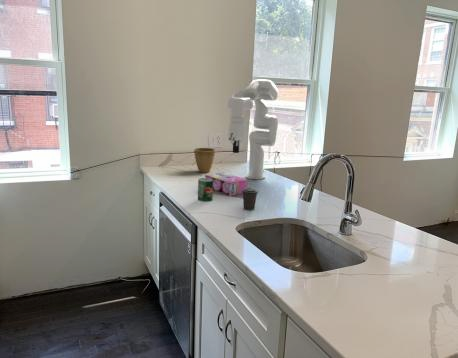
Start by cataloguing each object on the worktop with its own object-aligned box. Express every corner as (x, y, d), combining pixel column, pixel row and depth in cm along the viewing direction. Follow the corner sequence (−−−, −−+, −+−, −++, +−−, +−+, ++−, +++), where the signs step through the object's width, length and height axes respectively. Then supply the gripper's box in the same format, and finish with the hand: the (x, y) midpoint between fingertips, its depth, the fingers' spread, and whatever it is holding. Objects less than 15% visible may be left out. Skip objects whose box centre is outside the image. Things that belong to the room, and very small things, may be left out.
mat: (219, 186, 231) (219, 185, 231) (254, 192, 220) (254, 192, 220) (206, 191, 219) (206, 190, 219) (243, 198, 208) (243, 197, 208)
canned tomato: (210, 202, 198) (211, 181, 195) (195, 201, 199) (196, 180, 197) (214, 198, 205) (214, 178, 203) (200, 197, 207) (200, 177, 204)
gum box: (221, 183, 236) (203, 186, 227) (221, 171, 234) (203, 173, 225) (247, 192, 218) (229, 196, 209) (248, 179, 216) (229, 182, 208)
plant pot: (193, 169, 276) (193, 147, 273) (213, 169, 278) (214, 148, 274) (193, 173, 262) (194, 150, 258) (215, 174, 264) (216, 151, 260)
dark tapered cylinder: (248, 205, 195) (249, 186, 193) (260, 209, 190) (261, 189, 188) (237, 208, 190) (238, 188, 188) (249, 212, 184) (250, 192, 182)
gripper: (237, 119, 222) (236, 150, 226) (224, 120, 209) (223, 153, 213) (249, 120, 218) (247, 151, 223) (236, 121, 206) (235, 155, 210)
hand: (235, 152), depth 218 cm, fingers closed
